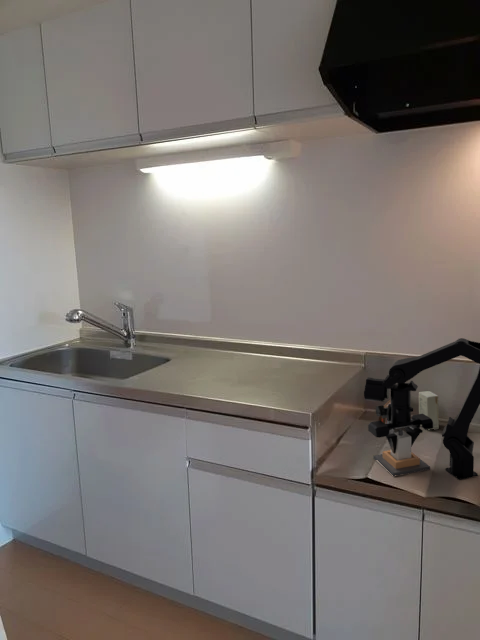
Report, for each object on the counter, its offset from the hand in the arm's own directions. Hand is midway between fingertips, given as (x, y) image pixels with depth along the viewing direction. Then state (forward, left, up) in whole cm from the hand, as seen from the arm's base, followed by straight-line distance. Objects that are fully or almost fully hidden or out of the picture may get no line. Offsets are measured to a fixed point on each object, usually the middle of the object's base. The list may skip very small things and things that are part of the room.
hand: (400, 451), depth 157 cm
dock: (0, 0, -4) cm, 4 cm away
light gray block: (0, 0, -2) cm, 2 cm away
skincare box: (+21, -23, -4) cm, 31 cm away
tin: (+27, -11, -4) cm, 29 cm away
